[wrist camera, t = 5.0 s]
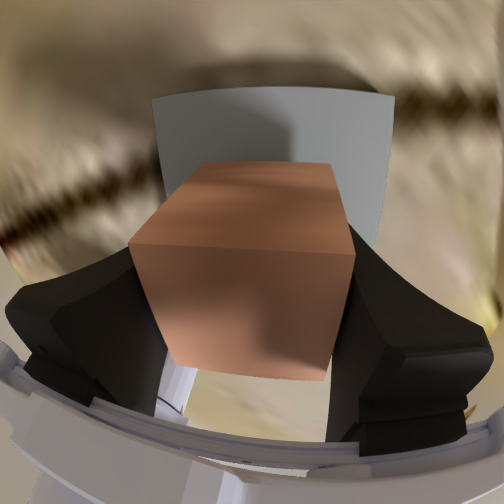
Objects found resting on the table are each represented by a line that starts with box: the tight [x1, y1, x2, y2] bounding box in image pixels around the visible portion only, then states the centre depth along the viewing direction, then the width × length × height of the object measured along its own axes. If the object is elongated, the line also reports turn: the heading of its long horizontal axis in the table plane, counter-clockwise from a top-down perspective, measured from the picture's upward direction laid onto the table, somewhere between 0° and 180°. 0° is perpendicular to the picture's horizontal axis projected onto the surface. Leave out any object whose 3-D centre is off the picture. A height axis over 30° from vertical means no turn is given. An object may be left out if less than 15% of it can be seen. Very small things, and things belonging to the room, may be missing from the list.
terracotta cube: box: [128, 161, 356, 381], centre depth 10 cm, size 5×5×6 cm
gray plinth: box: [151, 86, 395, 251], centre depth 14 cm, size 11×11×2 cm
